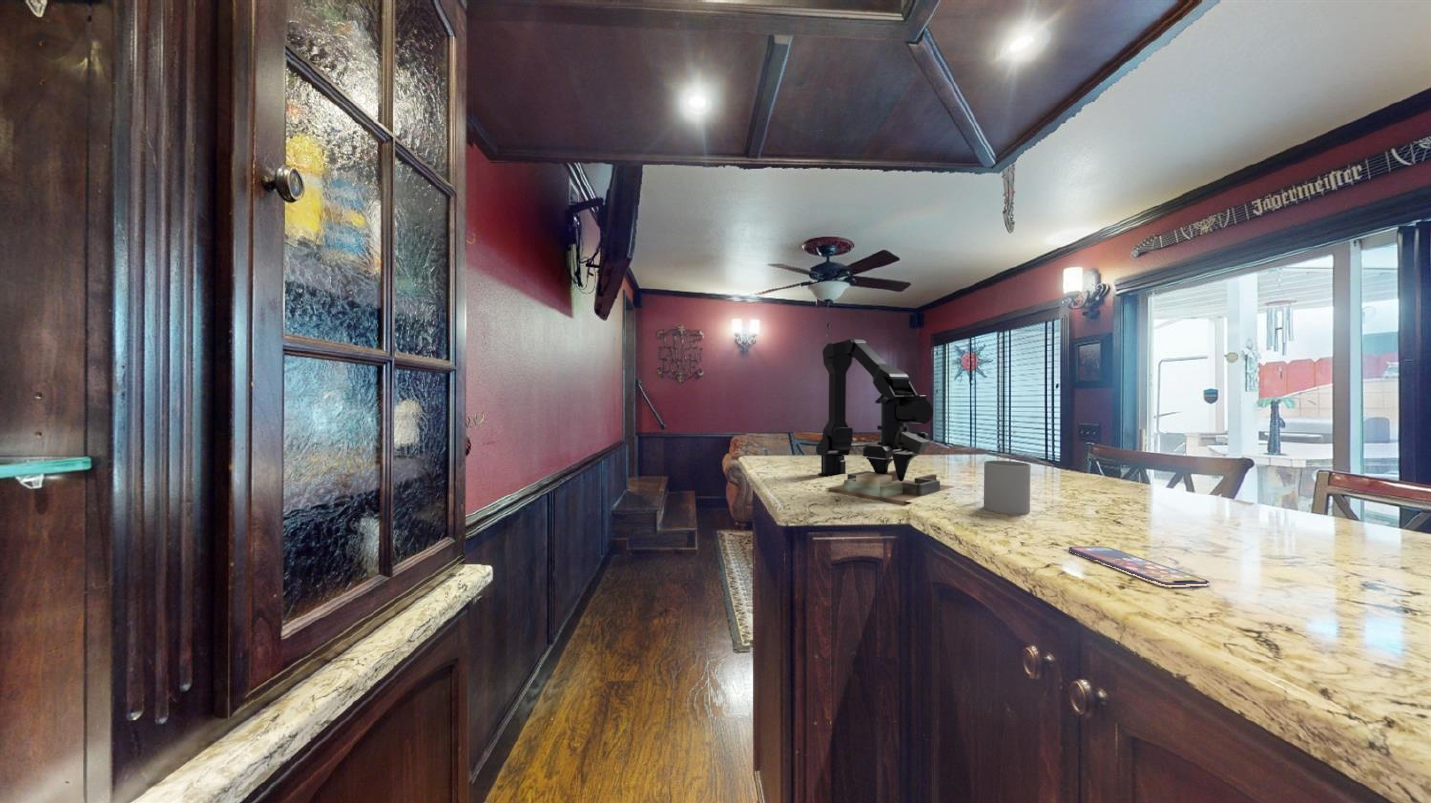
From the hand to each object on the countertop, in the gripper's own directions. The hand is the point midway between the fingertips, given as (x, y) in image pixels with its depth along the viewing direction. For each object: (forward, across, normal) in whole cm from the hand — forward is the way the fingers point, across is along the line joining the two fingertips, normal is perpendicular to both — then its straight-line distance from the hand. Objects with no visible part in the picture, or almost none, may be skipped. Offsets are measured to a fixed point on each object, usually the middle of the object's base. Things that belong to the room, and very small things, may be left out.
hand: (892, 483), depth 122 cm
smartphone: (+3, -24, -50) cm, 55 cm away
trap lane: (+2, 0, 0) cm, 2 cm away
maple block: (+1, -9, 0) cm, 9 cm away
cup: (+2, 0, -26) cm, 26 cm away
